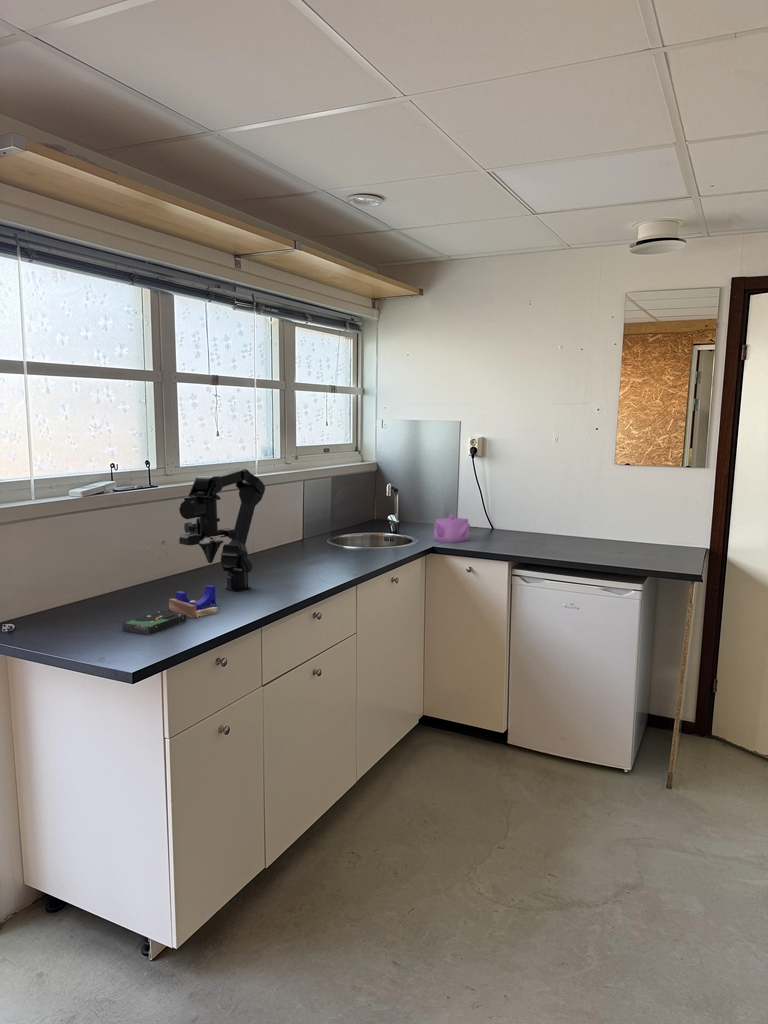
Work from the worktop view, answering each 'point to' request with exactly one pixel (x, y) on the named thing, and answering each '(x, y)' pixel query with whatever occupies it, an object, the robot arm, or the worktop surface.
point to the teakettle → (451, 529)
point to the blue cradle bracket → (206, 599)
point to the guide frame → (189, 608)
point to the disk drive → (153, 622)
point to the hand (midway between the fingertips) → (210, 562)
